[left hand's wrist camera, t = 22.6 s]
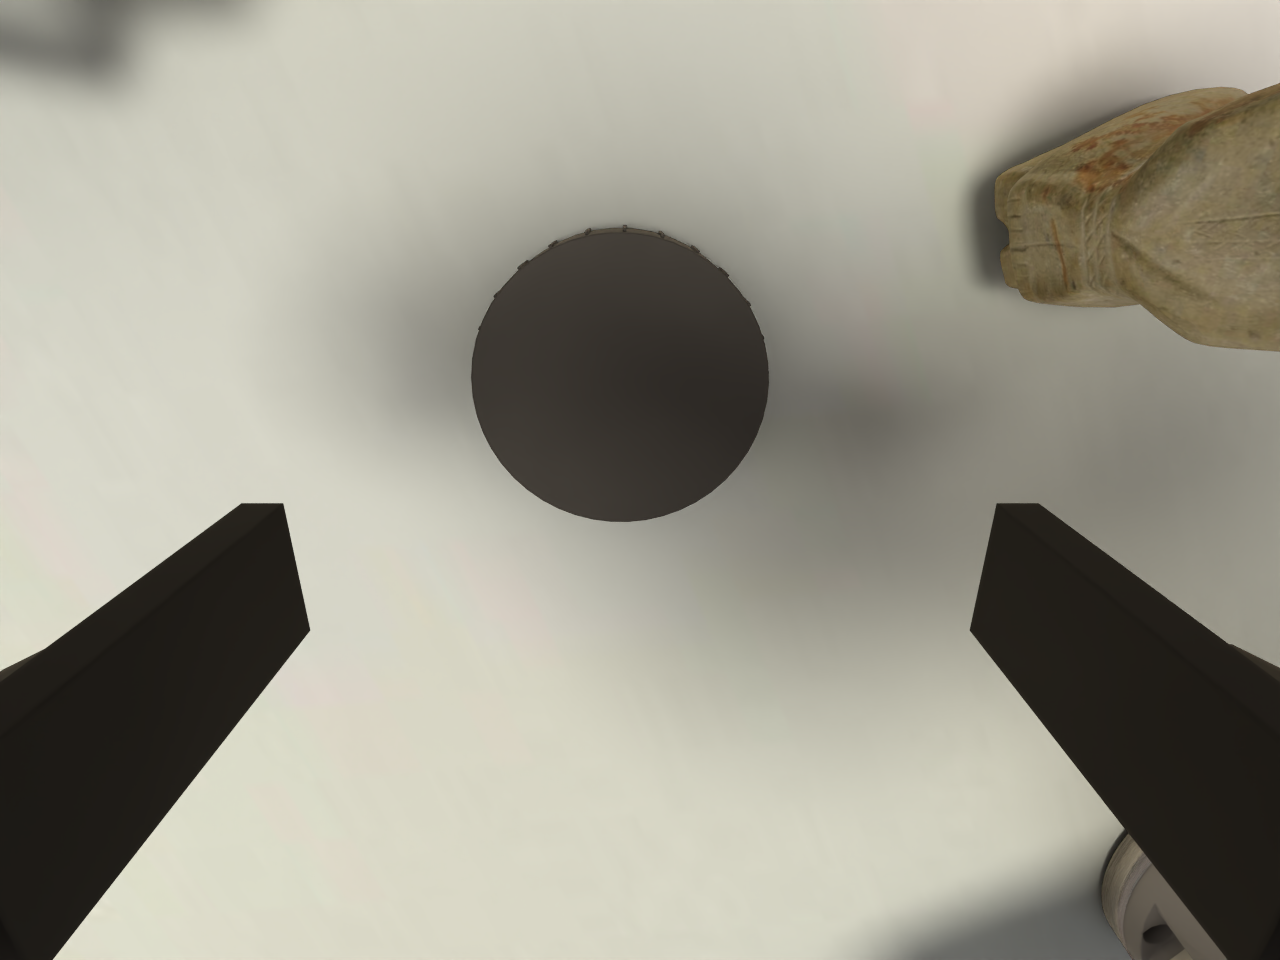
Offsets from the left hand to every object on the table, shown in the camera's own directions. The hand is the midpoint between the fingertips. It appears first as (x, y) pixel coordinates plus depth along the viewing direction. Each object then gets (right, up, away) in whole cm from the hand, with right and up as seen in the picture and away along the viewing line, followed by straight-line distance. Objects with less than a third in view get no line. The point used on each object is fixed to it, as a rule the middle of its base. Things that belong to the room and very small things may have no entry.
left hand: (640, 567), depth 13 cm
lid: (-1, +5, +9) cm, 10 cm away
